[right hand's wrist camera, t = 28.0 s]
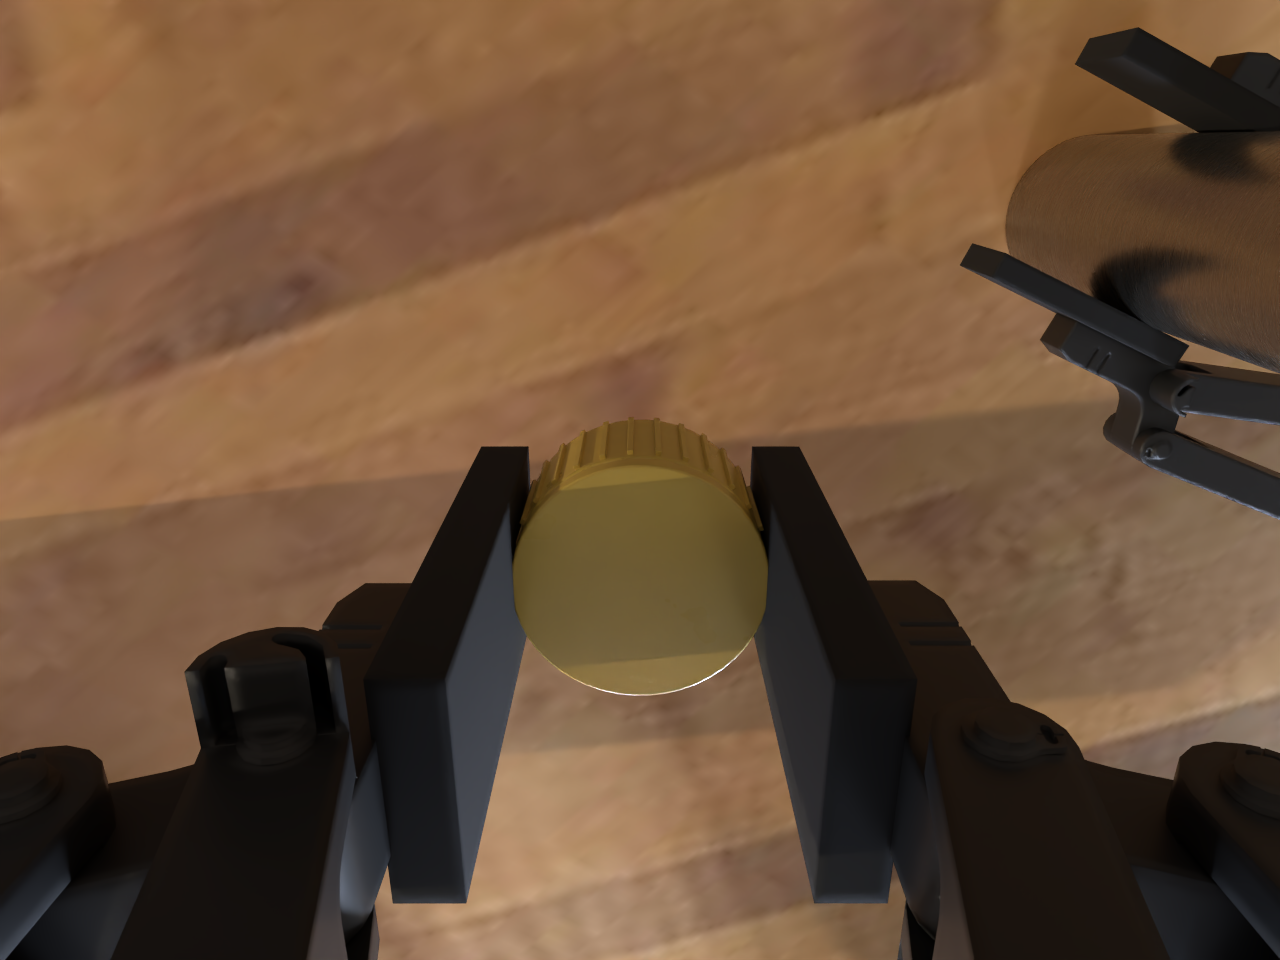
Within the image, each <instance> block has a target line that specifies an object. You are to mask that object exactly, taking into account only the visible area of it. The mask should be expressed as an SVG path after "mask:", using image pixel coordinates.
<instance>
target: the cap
mask: <svg viewBox="0 0 1280 960" xmlns="http://www.w3.org/2000/svg"><path fill="white" fill-rule="evenodd" d="M520 524H521V528H520V531H519V534H518V537H517V541H516V548H515V552H514V556H513V561H512V568H513V587H514V603H515V611H516V614H517V616H518V619H519V622H520V624H521V626H522V628H523V629H524V631H525V633H526V635H527V637H528V638H529V640H530V641H531V642H532V644H533V645H534V646H535V648H536V649H537V650H538V651H539V652H540V653H541V654H542V655H543V656H544V657H545V659H546V660H547V661H549V662H550V663H551V664H552V665H554V666H555V667H556V668H557V669H558V670H560V671H561V672H563V673H565V674H566V675H568V676H569V677H571V678H573V679H575V680H577V681H579V682H581V683H583V684H585V685H588V686H590V687H593V688H596V689H599V690H602V691H607V692H612V693H616V694H625V695H656V694H665V693H669V692H674V691H678V690H682V689H684V688H687V687H690V686H693V685H696V684H698V683H700V682H702V681H704V680H706V679H708V678H710V677H711V676H713V675H715V674H716V673H718V672H719V671H721V670H722V669H724V668H725V667H726V666H727V665H728V664H730V663H731V662H732V661H733V660H734V659H735V658H736V657H737V656H738V655H739V654H740V653H741V652H742V651H743V650H744V649H745V647H746V646H747V645H748V643H749V642H750V640H751V639H752V638H753V636H754V635H755V633H756V631H757V629H758V627H759V625H760V623H761V621H762V618H763V616H764V613H765V609H766V597H767V580H768V557H767V553H766V549H765V546H764V542H763V539H762V536H761V532H760V531H763V530H764V528H763V525H762V522H761V519H760V515H759V512H758V509H757V506H756V503H755V500H754V496H753V493H752V490H751V487H750V486H747V487H746V484H745V481H744V478H743V474H742V471H741V468H740V467H739V466H736V467H735V466H734V465H733V464H732V462H731V461H730V460H729V458H728V457H727V454H726V450H724V449H723V448H721V449H718V448H717V447H716V446H715V445H714V444H712V443H711V442H709V441H708V440H707V436H706V435H705V434H703V433H702V434H701V436H700V435H698V434H696V433H695V432H693V431H691V430H688V429H685V428H684V424H681V423H679V425H674V424H670V423H666V422H661V421H660V420H659V418H654V421H653V420H634V417H629V418H628V420H627V421H620V422H614V423H611V424H609V421H607V422H604V423H603V426H600V427H598V428H595V429H593V430H590V431H588V432H586V431H585V430H583V431H581V432H580V436H579V437H577V438H575V439H574V440H572V441H571V442H570V443H568V444H567V445H565V444H564V443H563V444H562V445H561V446H560V448H559V452H558V453H557V454H556V455H555V456H554V457H553V458H552V459H551V460H550V462H549V461H547V460H546V461H545V462H544V464H543V467H542V471H541V474H540V477H539V478H538V480H537V481H535V480H533V482H532V484H531V487H530V491H529V494H528V497H527V500H526V504H525V507H524V510H523V513H522V516H521V520H520Z"/></svg>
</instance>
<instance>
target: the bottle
mask: <svg viewBox="0 0 1280 960" xmlns="http://www.w3.org/2000/svg"><path fill="white" fill-rule="evenodd" d="M1006 239H1007V245H1008V249H1009V252H1010V255H1011V256H1012V257H1014V258H1016V259H1018V260H1020V261H1022V262H1024V263H1026V264H1028V265H1030V266H1032V267H1034V268H1036V269H1038V270H1040V271H1042V272H1044V273H1046V274H1048V275H1050V276H1052V277H1054V278H1056V279H1058V280H1060V281H1062V282H1064V283H1066V284H1068V285H1070V286H1072V287H1074V288H1076V289H1078V290H1080V291H1082V292H1084V293H1086V294H1088V295H1090V296H1092V297H1094V298H1096V299H1098V300H1100V301H1102V302H1104V303H1106V304H1108V305H1110V306H1112V307H1114V308H1116V309H1118V310H1120V311H1122V312H1123V313H1125V314H1127V315H1129V316H1131V317H1133V318H1135V319H1137V320H1139V321H1141V322H1143V323H1145V324H1147V325H1149V326H1151V327H1153V328H1155V329H1157V330H1159V331H1162V332H1165V333H1168V334H1171V335H1173V336H1176V337H1179V338H1182V339H1185V340H1187V341H1190V342H1193V343H1196V344H1199V345H1201V346H1204V347H1207V348H1210V349H1213V350H1215V351H1218V352H1221V353H1224V354H1227V355H1229V356H1232V357H1235V358H1238V359H1241V360H1243V361H1246V362H1249V363H1252V364H1255V365H1257V366H1260V367H1263V368H1266V369H1269V370H1271V371H1274V372H1277V373H1280V131H1268V132H1214V133H1161V134H1107V135H1086V136H1081V137H1076V138H1073V139H1070V140H1067V141H1065V142H1063V143H1061V144H1059V145H1057V146H1055V147H1053V148H1052V149H1050V150H1049V151H1047V152H1046V153H1045V154H1043V155H1042V156H1041V157H1040V158H1038V159H1037V160H1036V161H1035V162H1034V163H1033V164H1032V165H1031V166H1030V168H1029V169H1028V170H1027V171H1026V173H1025V174H1024V175H1023V177H1022V178H1021V180H1020V181H1019V183H1018V185H1017V187H1016V189H1015V191H1014V193H1013V195H1012V198H1011V201H1010V204H1009V207H1008V212H1007V217H1006Z"/></svg>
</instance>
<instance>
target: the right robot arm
mask: <svg viewBox="0 0 1280 960" xmlns="http://www.w3.org/2000/svg"><path fill="white" fill-rule="evenodd" d="M750 487H751V490H752V493H753V496H754V500H755V503H756V506H757V509H758V512H759V515H760V519H761V522H762V525H763V528H764V530H763V531H760V532H761V536H762V539H763V542H764V546H765V549H766V553H767V557H768V580H767V597H766V609H765V613H764V616H763V618H762V621H761V623H760V625H759V627H758V629H757V631H756V633H755V635H754V638H755V643H756V647H757V652H758V656H759V661H760V665H761V669H762V674H763V678H764V683H765V687H766V691H767V696H768V700H769V705H770V709H771V714H772V718H773V722H774V727H775V731H776V736H777V740H778V745H779V749H780V753H781V758H782V762H783V767H784V771H785V775H786V780H787V784H788V789H789V793H790V798H791V802H792V806H793V811H794V815H795V820H796V824H797V829H798V833H799V837H800V842H801V846H802V851H803V855H804V859H805V864H806V868H807V873H808V877H809V882H810V886H811V890H812V895H813V899H814V903H888V897H889V889H890V882H891V874H892V867H893V862H894V865H895V868H896V871H897V874H898V876H899V879H900V882H901V885H902V888H903V891H904V894H905V897H906V904H905V911H904V918H903V925H902V932H901V939H900V946H899V953H898V960H1280V753H1278V752H1275V751H1272V750H1268V749H1261V748H1260V747H1257V746H1252V745H1247V744H1238V743H1226V742H1211V743H1206V744H1201V745H1196V746H1192V747H1191V748H1190V749H1189V750H1187V751H1186V752H1185V753H1184V754H1183V755H1182V756H1180V758H1179V762H1178V765H1177V769H1176V773H1175V776H1174V780H1170V779H1165V778H1160V777H1155V776H1150V775H1146V774H1141V773H1136V772H1131V771H1126V770H1121V769H1116V768H1112V767H1108V766H1104V765H1101V764H1097V763H1093V762H1090V761H1087V760H1084V758H1083V755H1082V753H1081V751H1080V748H1079V747H1078V745H1077V744H1076V743H1075V741H1074V740H1073V738H1072V737H1071V736H1070V734H1069V733H1068V732H1067V730H1066V729H1064V728H1063V727H1061V726H1060V725H1059V724H1057V723H1056V722H1054V721H1053V720H1052V719H1050V718H1049V717H1047V716H1046V715H1044V714H1042V713H1040V712H1037V711H1035V710H1032V709H1030V708H1028V707H1025V706H1023V705H1020V704H1018V703H1013V702H1010V700H1009V699H1008V697H1007V696H1006V694H1005V692H1004V691H1003V689H1002V688H1001V686H1000V685H999V683H998V682H997V680H996V679H995V677H994V676H993V674H992V673H991V671H990V670H989V668H988V666H987V665H986V663H985V662H984V660H983V659H982V657H981V656H980V654H979V653H978V651H977V650H976V648H975V647H974V646H971V640H970V639H969V637H968V636H967V634H966V633H965V631H964V630H963V628H962V627H959V622H958V621H957V619H956V617H955V616H954V614H953V613H952V611H951V610H950V608H949V607H948V605H947V604H946V602H945V601H944V599H942V598H941V597H939V596H938V595H936V594H935V593H933V592H932V591H930V590H929V589H927V588H926V587H924V586H923V585H921V584H920V583H918V582H917V581H867V579H866V577H865V575H864V573H863V571H862V569H861V567H860V565H859V563H858V561H857V559H856V557H855V555H854V553H853V551H852V549H851V548H850V546H849V544H848V542H847V540H846V538H845V536H844V534H843V532H842V530H841V528H840V526H839V524H838V522H837V520H836V518H835V516H834V514H833V512H832V510H831V508H830V506H829V504H828V502H827V500H826V498H825V496H824V494H823V493H822V491H821V489H820V487H819V485H818V483H817V481H816V479H815V477H814V475H813V473H812V471H811V469H810V467H809V465H808V463H807V461H806V459H805V457H804V455H803V453H802V451H801V449H800V447H752V460H751V481H750ZM529 491H530V469H529V448H528V447H481V449H480V450H479V452H478V454H477V456H476V458H475V460H474V462H473V464H472V466H471V468H470V470H469V472H468V474H467V476H466V478H465V480H464V482H463V484H462V486H461V488H460V490H459V492H458V494H457V496H456V498H455V500H454V502H453V504H452V505H451V507H450V509H449V511H448V513H447V515H446V517H445V519H444V521H443V523H442V525H441V527H440V529H439V531H438V533H437V535H436V537H435V539H434V541H433V543H432V545H431V547H430V549H429V551H428V553H427V555H426V557H425V559H424V561H423V562H422V564H421V566H420V568H419V570H418V572H417V574H416V576H415V578H414V580H413V582H412V583H365V584H364V585H362V586H361V587H359V588H358V589H356V590H355V591H353V592H352V593H350V594H349V595H348V596H346V597H345V598H343V599H342V600H340V601H339V602H337V604H336V605H335V607H334V608H333V610H332V611H331V613H330V614H329V616H328V617H327V619H326V621H325V622H324V624H323V628H322V630H319V631H316V630H312V629H308V628H304V627H275V628H270V629H264V630H258V631H253V632H248V633H245V634H242V635H240V636H237V637H234V638H231V639H229V640H226V641H223V642H220V643H219V644H217V645H216V646H214V647H212V648H211V649H209V650H207V651H206V652H204V653H203V654H201V655H199V656H198V657H197V658H196V659H195V660H194V662H193V663H192V664H191V665H190V666H189V667H188V668H187V670H186V671H185V677H186V681H187V686H188V690H189V695H190V700H191V704H192V709H193V713H194V718H195V722H196V727H197V732H198V736H199V741H200V745H201V750H200V752H199V754H198V757H197V759H196V761H195V764H194V765H190V766H187V767H183V768H179V769H176V770H172V771H168V772H163V773H158V774H154V775H149V776H144V777H139V778H134V779H129V780H125V781H120V782H115V783H110V784H108V781H107V777H106V774H105V770H104V766H103V763H102V761H101V760H100V759H99V758H98V757H97V756H96V755H95V754H93V753H92V752H91V751H90V750H87V749H82V748H77V747H72V746H67V745H66V746H54V747H42V748H35V749H30V750H25V751H22V752H20V753H17V752H16V753H13V754H10V755H7V756H4V757H1V758H0V960H377V959H378V950H379V940H380V939H379V932H378V925H377V918H376V911H375V904H374V903H375V900H376V897H377V894H378V891H379V888H380V886H381V883H382V880H383V877H384V874H385V871H386V868H387V865H388V870H389V877H390V885H391V892H392V900H393V903H466V902H467V897H468V893H469V889H470V884H471V880H472V875H473V871H474V866H475V862H476V858H477V853H478V849H479V844H480V840H481V835H482V831H483V827H484V822H485V818H486V813H487V809H488V805H489V800H490V796H491V791H492V787H493V782H494V778H495V774H496V769H497V765H498V760H499V756H500V751H501V747H502V743H503V738H504V734H505V729H506V725H507V721H508V716H509V712H510V707H511V703H512V698H513V694H514V690H515V685H516V681H517V676H518V672H519V667H520V663H521V659H522V654H523V650H524V645H525V641H526V636H527V635H526V633H525V631H524V629H523V628H522V626H521V624H520V622H519V619H518V616H517V614H516V611H515V603H514V587H513V568H512V561H513V556H514V552H515V548H516V541H517V537H518V534H519V531H520V528H521V524H520V520H521V516H522V513H523V510H524V507H525V504H526V500H527V497H528V494H529Z"/></svg>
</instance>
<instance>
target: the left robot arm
mask: <svg viewBox="0 0 1280 960" xmlns="http://www.w3.org/2000/svg"><path fill="white" fill-rule="evenodd" d="M1075 65H1077V66H1079V67H1081V68H1083V69H1085V70H1086V71H1088V72H1090V73H1092V74H1094V75H1095V76H1097V77H1099V78H1101V79H1103V80H1105V81H1106V82H1108V83H1110V84H1112V85H1114V86H1115V87H1117V88H1119V89H1121V90H1123V91H1124V92H1126V93H1128V94H1130V95H1132V96H1134V97H1135V98H1137V99H1139V100H1141V101H1143V102H1144V103H1146V104H1148V105H1150V106H1152V107H1154V108H1155V109H1157V110H1159V111H1161V112H1163V113H1164V114H1166V115H1168V116H1170V117H1172V118H1174V119H1175V120H1177V121H1179V122H1181V123H1183V124H1184V125H1186V126H1188V127H1190V128H1192V129H1194V130H1195V131H1197V132H1199V133H1214V132H1268V131H1280V60H1279V59H1277V58H1275V57H1273V56H1272V55H1270V54H1268V53H1256V52H1245V53H1239V54H1232V55H1225V56H1219V57H1216V59H1215V61H1214V62H1213V64H1212V66H1211V67H1210V68H1209V67H1208V66H1206V65H1204V64H1202V63H1201V62H1199V61H1197V60H1195V59H1193V58H1192V57H1190V56H1188V55H1186V54H1185V53H1183V52H1181V51H1179V50H1178V49H1176V48H1174V47H1172V46H1170V45H1169V44H1167V43H1165V42H1163V41H1162V40H1160V39H1158V38H1156V37H1155V36H1153V35H1151V34H1149V33H1147V32H1146V31H1144V30H1142V29H1140V28H1139V27H1138V28H1134V29H1129V30H1125V31H1120V32H1116V33H1112V34H1107V35H1103V36H1099V37H1094V38H1090V39H1089V40H1088V42H1087V44H1086V46H1085V47H1084V49H1083V51H1082V53H1081V54H1080V56H1079V58H1078V60H1077V61H1076V63H1075ZM960 266H962V267H964V268H966V269H968V270H970V271H972V272H974V273H976V274H978V275H980V276H982V277H984V278H986V279H988V280H990V281H992V282H994V283H996V284H998V285H1000V286H1002V287H1004V288H1006V289H1008V290H1011V291H1013V292H1015V293H1017V294H1019V295H1021V296H1023V297H1025V298H1027V299H1029V300H1031V301H1033V302H1035V303H1037V304H1039V305H1041V306H1043V307H1045V308H1047V309H1049V310H1051V311H1053V312H1055V313H1056V315H1055V317H1054V318H1053V320H1052V321H1051V323H1050V325H1049V326H1048V328H1047V330H1046V331H1045V333H1044V334H1043V336H1042V338H1041V339H1040V340H1041V342H1042V343H1043V344H1044V345H1045V347H1046V348H1047V349H1048V350H1049V352H1051V353H1053V354H1055V355H1057V356H1059V357H1061V358H1063V359H1065V360H1067V361H1069V362H1071V363H1073V364H1075V365H1077V366H1079V367H1081V368H1083V369H1086V370H1088V371H1090V372H1092V373H1094V374H1096V375H1098V376H1100V377H1102V378H1104V379H1106V380H1108V381H1110V382H1112V383H1113V384H1114V385H1115V386H1116V387H1117V390H1118V392H1119V404H1118V407H1117V411H1116V413H1114V414H1112V415H1111V416H1110V417H1109V418H1108V419H1107V420H1106V422H1105V424H1104V427H1103V434H1104V436H1105V438H1106V440H1108V441H1109V442H1111V443H1112V444H1114V445H1115V446H1117V447H1118V448H1120V449H1121V450H1123V451H1124V452H1126V453H1128V454H1129V455H1131V456H1132V457H1134V458H1136V459H1137V460H1139V461H1141V462H1142V463H1144V464H1146V465H1147V466H1149V467H1151V468H1153V469H1156V470H1158V471H1161V472H1163V473H1166V474H1168V475H1171V476H1173V477H1176V478H1178V479H1180V480H1183V481H1185V482H1188V483H1190V484H1193V485H1195V486H1198V487H1200V488H1203V489H1205V490H1208V491H1210V492H1212V493H1215V494H1217V495H1220V496H1222V497H1225V498H1227V499H1230V500H1232V501H1235V502H1237V503H1240V504H1242V505H1245V506H1247V507H1249V508H1252V509H1254V510H1257V511H1259V512H1262V513H1264V514H1267V515H1269V516H1272V517H1274V518H1277V519H1279V520H1280V473H1278V472H1275V471H1273V470H1270V469H1268V468H1266V467H1263V466H1261V465H1258V464H1256V463H1253V462H1251V461H1249V460H1246V459H1244V458H1241V457H1239V456H1237V455H1234V454H1232V453H1229V452H1227V451H1224V450H1222V449H1220V448H1217V447H1215V446H1212V445H1210V444H1208V443H1205V442H1203V441H1200V440H1198V439H1196V438H1193V437H1191V436H1188V435H1186V434H1183V433H1181V432H1179V431H1176V430H1175V428H1176V424H1177V421H1178V418H1179V415H1180V416H1183V417H1186V413H1193V414H1201V415H1208V416H1215V417H1223V418H1230V419H1237V420H1245V421H1252V422H1259V423H1266V424H1274V425H1280V374H1273V373H1266V372H1258V371H1251V370H1244V369H1237V368H1230V367H1223V366H1216V365H1208V364H1201V363H1194V362H1187V361H1180V359H1181V357H1182V356H1183V354H1184V353H1185V351H1186V350H1187V348H1188V347H1189V345H1187V344H1185V343H1183V342H1181V341H1179V340H1177V339H1175V338H1173V337H1171V336H1169V335H1167V334H1165V333H1163V332H1161V331H1159V330H1157V329H1155V328H1153V327H1151V326H1149V325H1147V324H1145V323H1143V322H1141V321H1139V320H1137V319H1135V318H1133V317H1131V316H1129V315H1127V314H1125V313H1123V312H1122V311H1120V310H1118V309H1116V308H1114V307H1112V306H1110V305H1108V304H1106V303H1104V302H1102V301H1100V300H1098V299H1096V298H1094V297H1092V296H1090V295H1088V294H1086V293H1084V292H1082V291H1080V290H1078V289H1076V288H1074V287H1072V286H1070V285H1068V284H1066V283H1064V282H1062V281H1060V280H1058V279H1056V278H1054V277H1052V276H1050V275H1048V274H1046V273H1044V272H1042V271H1040V270H1038V269H1036V268H1034V267H1032V266H1030V265H1028V264H1026V263H1024V262H1022V261H1020V260H1018V259H1016V258H1014V257H1012V256H1010V255H1008V254H1006V253H1003V252H1000V251H997V250H993V249H990V248H986V247H983V246H980V245H976V244H973V243H972V245H971V246H970V248H969V250H968V252H967V253H966V255H965V257H964V259H963V260H962V262H961V264H960ZM1184 412H1186V413H1184Z"/></svg>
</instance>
